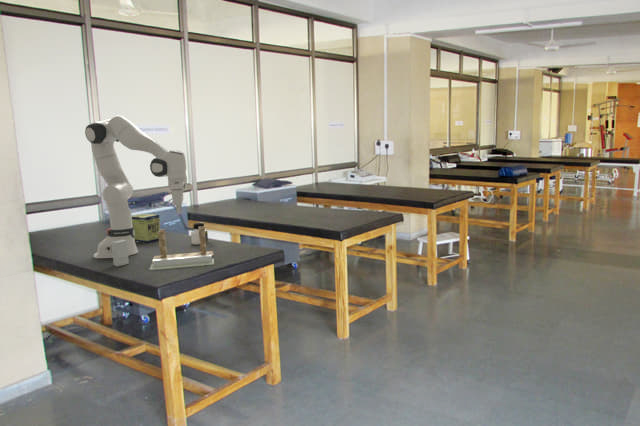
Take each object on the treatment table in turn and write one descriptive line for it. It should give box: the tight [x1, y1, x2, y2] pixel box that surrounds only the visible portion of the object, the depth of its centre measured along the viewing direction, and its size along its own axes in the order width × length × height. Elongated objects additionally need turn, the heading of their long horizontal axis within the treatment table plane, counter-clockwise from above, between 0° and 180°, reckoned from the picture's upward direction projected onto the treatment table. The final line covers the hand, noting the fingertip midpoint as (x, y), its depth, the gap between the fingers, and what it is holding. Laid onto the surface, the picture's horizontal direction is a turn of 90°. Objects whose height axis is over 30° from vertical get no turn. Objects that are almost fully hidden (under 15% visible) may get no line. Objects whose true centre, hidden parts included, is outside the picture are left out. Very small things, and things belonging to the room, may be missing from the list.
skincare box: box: [111, 240, 130, 267], centre depth 253 cm, size 6×4×12 cm
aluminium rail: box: [151, 255, 213, 267], centre depth 250 cm, size 28×3×3 cm, turn 103°
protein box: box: [132, 213, 161, 244], centre depth 309 cm, size 10×16×16 cm
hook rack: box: [152, 225, 215, 260], centre depth 264 cm, size 30×8×15 cm, turn 103°
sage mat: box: [149, 258, 215, 271], centre depth 250 cm, size 30×10×1 cm, turn 103°
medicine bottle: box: [190, 221, 209, 245], centre depth 297 cm, size 7×7×12 cm
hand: (179, 212), depth 250 cm, fingers open, 8 cm apart
